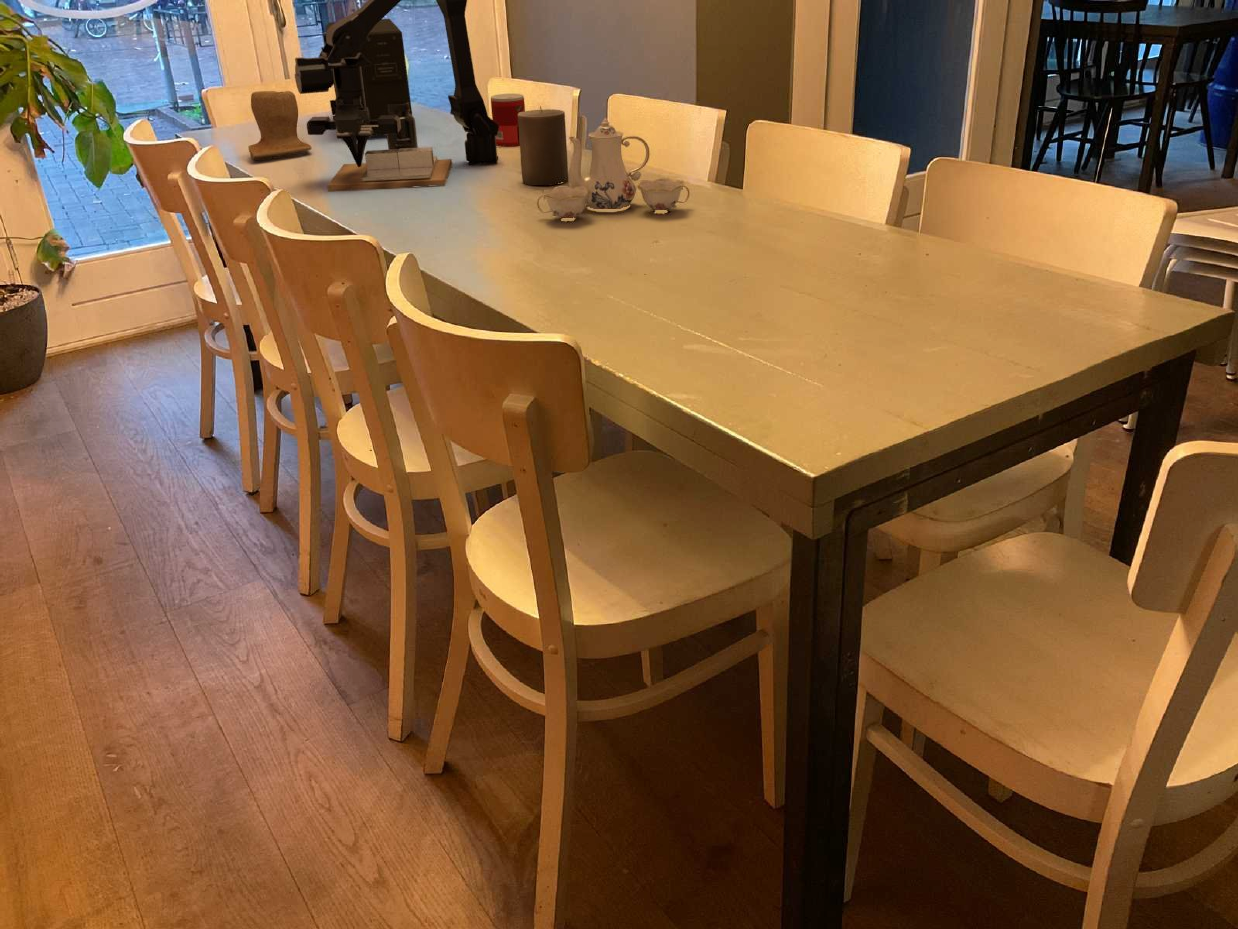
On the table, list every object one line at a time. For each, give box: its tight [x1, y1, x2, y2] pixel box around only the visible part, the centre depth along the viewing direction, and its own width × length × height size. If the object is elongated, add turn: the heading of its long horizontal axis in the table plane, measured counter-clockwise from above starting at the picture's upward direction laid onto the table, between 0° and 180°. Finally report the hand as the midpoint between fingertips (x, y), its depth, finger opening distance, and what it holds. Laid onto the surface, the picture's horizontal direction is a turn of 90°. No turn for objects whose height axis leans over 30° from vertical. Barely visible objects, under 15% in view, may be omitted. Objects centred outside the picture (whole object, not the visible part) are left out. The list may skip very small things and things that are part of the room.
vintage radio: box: [320, 18, 413, 141], centre depth 267 cm, size 38×20×25 cm, turn 16°
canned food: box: [490, 93, 526, 147], centre depth 245 cm, size 8×8×11 cm
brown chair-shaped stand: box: [247, 90, 312, 161], centre depth 240 cm, size 15×12×15 cm
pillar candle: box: [518, 106, 569, 186], centre depth 209 cm, size 10×10×15 cm
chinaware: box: [536, 117, 690, 219], centre depth 186 cm, size 28×17×17 cm, turn 106°
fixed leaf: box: [398, 146, 439, 171], centre depth 221 cm, size 14×11×4 cm
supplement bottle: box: [386, 102, 419, 150], centre depth 235 cm, size 7×7×12 cm
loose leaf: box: [362, 149, 433, 181], centre depth 215 cm, size 14×11×4 cm
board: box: [327, 158, 453, 192], centre depth 220 cm, size 24×20×1 cm
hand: (359, 166), depth 218 cm, fingers closed
